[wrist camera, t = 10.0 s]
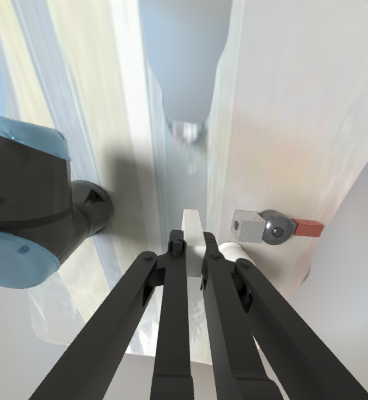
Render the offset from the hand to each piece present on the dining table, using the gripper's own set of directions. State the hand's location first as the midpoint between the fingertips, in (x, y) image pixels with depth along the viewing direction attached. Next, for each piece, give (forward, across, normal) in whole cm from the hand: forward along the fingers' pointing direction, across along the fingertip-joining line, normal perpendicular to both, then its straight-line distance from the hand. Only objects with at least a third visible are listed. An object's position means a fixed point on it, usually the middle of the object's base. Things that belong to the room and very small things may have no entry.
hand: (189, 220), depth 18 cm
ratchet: (+26, +28, -12) cm, 40 cm away
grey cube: (+26, +18, -12) cm, 34 cm away
